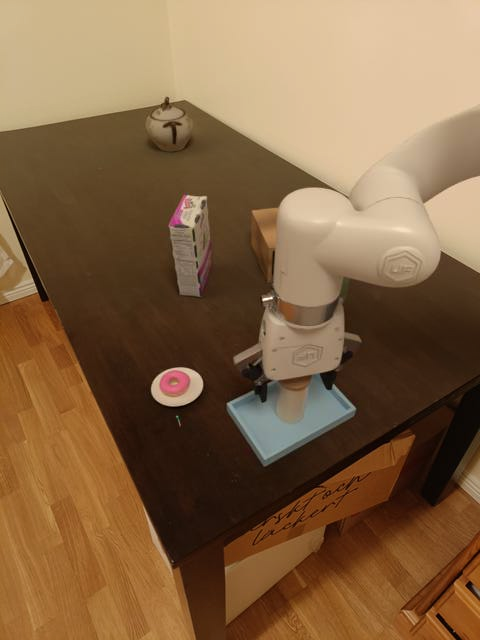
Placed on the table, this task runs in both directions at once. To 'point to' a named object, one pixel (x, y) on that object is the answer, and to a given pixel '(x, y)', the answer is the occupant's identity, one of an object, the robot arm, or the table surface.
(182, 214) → the candy bar box
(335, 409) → the tray
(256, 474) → the table surface
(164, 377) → the donut
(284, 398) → the spice pot
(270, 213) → the cabinet
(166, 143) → the sugar bowl
